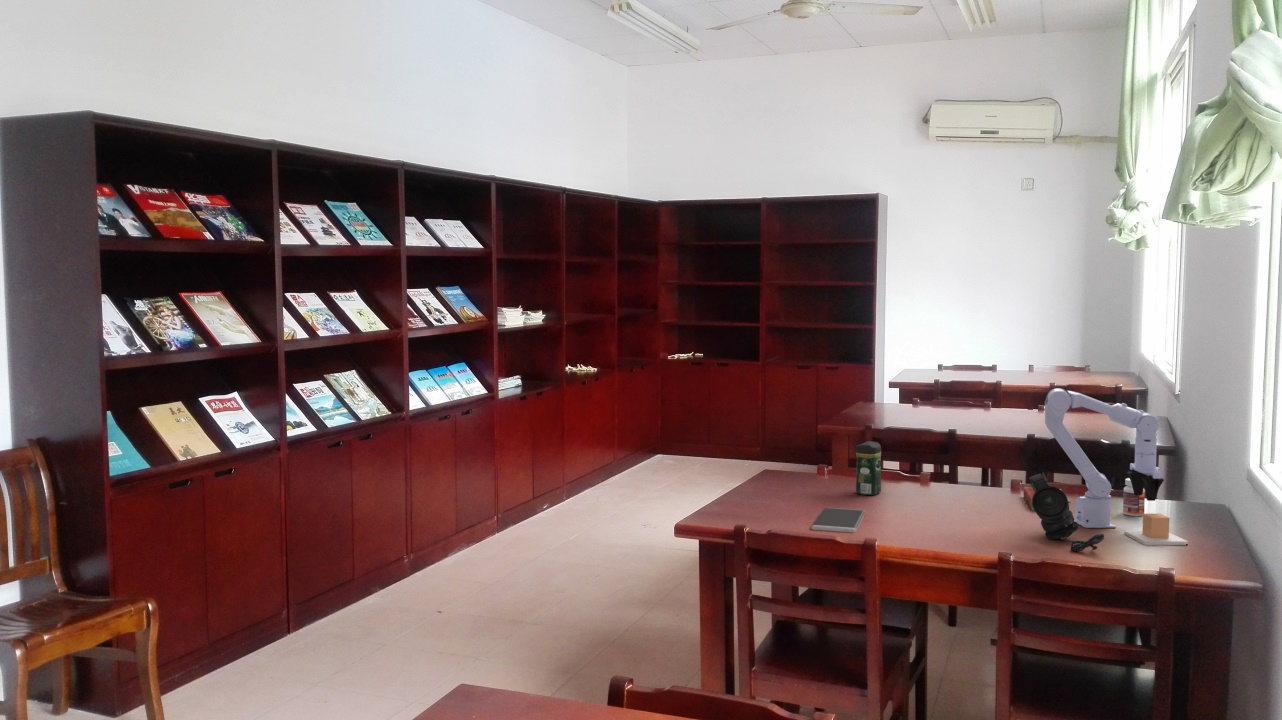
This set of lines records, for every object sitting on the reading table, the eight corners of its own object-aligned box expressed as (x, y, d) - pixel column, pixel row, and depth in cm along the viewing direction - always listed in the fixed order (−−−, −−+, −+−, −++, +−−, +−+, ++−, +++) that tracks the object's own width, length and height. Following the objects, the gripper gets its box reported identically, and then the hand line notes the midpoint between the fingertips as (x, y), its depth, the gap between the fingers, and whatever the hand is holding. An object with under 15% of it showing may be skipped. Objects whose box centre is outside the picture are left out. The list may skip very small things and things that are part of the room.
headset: (1066, 577, 267) (1031, 509, 292) (1115, 560, 263) (1075, 492, 288) (1048, 536, 259) (1013, 469, 283) (1097, 518, 255) (1058, 451, 280)
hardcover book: (1030, 511, 312) (1031, 499, 312) (1023, 498, 332) (1023, 486, 332) (1070, 513, 309) (1070, 501, 308) (1060, 500, 329) (1060, 488, 329)
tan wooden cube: (1151, 538, 272) (1151, 517, 272) (1142, 533, 277) (1142, 513, 277) (1168, 538, 272) (1169, 517, 272) (1159, 533, 277) (1160, 513, 276)
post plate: (1144, 544, 269) (1145, 531, 268) (1124, 534, 281) (1124, 520, 280) (1187, 544, 268) (1188, 531, 268) (1165, 534, 280) (1165, 520, 280)
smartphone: (865, 515, 310) (865, 509, 310) (855, 534, 284) (855, 528, 284) (824, 512, 314) (824, 507, 314) (811, 531, 289) (811, 525, 289)
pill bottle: (1143, 517, 301) (1144, 482, 300) (1121, 515, 304) (1122, 480, 304) (1145, 513, 306) (1146, 479, 305) (1124, 511, 310) (1125, 477, 309)
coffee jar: (863, 489, 346) (863, 439, 345) (883, 492, 341) (884, 441, 340) (852, 494, 338) (852, 442, 337) (873, 497, 334) (874, 444, 332)
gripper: (1171, 457, 278) (1170, 502, 279) (1146, 449, 293) (1145, 492, 294) (1147, 457, 279) (1146, 503, 280) (1123, 449, 293) (1122, 492, 294)
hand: (1144, 497), depth 287 cm, fingers open, 7 cm apart
